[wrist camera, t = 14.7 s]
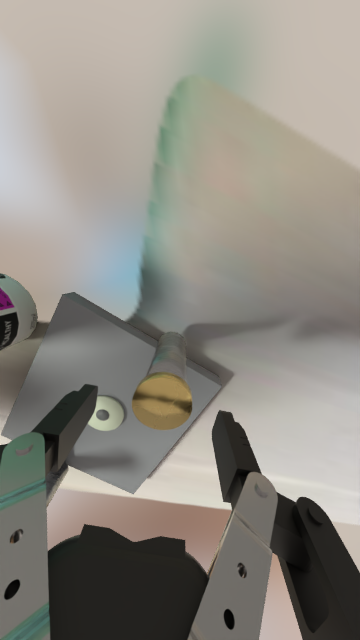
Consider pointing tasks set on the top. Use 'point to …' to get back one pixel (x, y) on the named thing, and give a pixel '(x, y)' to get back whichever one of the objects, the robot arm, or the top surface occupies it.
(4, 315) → the supplement can
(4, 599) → the robot arm
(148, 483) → the top surface
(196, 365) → the board
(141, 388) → the crank
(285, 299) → the top surface
